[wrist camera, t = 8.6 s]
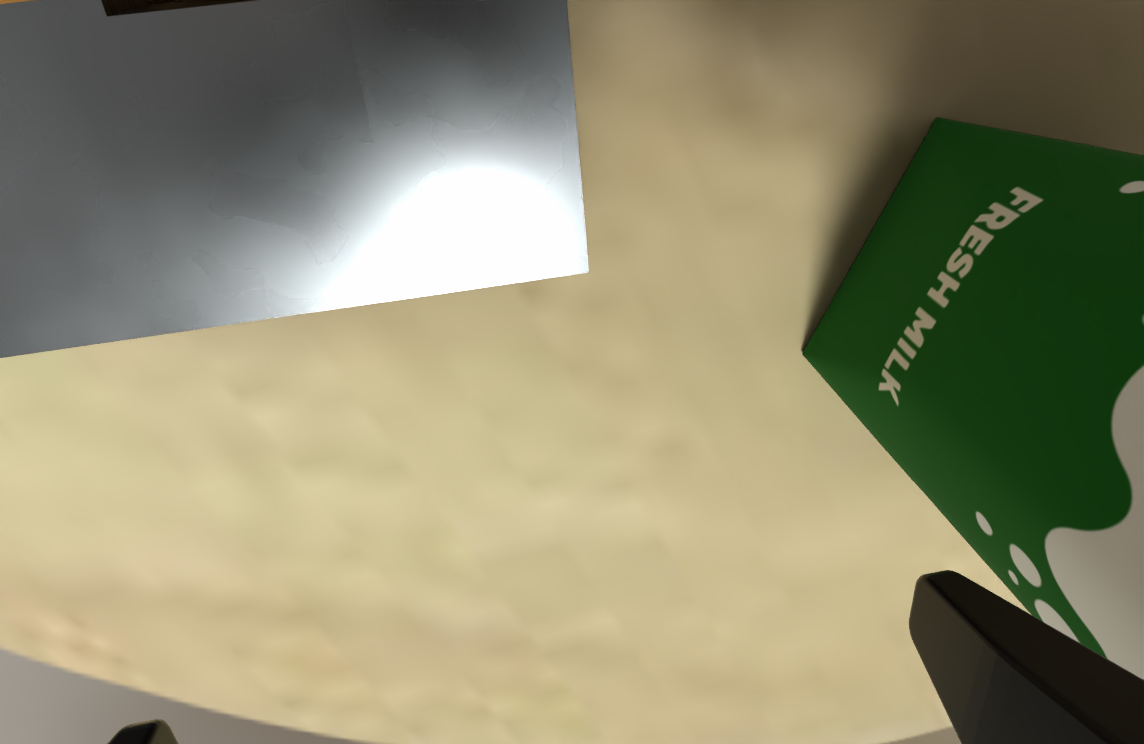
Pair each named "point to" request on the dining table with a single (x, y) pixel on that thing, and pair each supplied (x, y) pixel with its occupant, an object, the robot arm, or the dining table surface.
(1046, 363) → the milk carton
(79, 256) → the gray slab with hole
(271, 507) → the dining table surface
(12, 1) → the tan rectangular box
